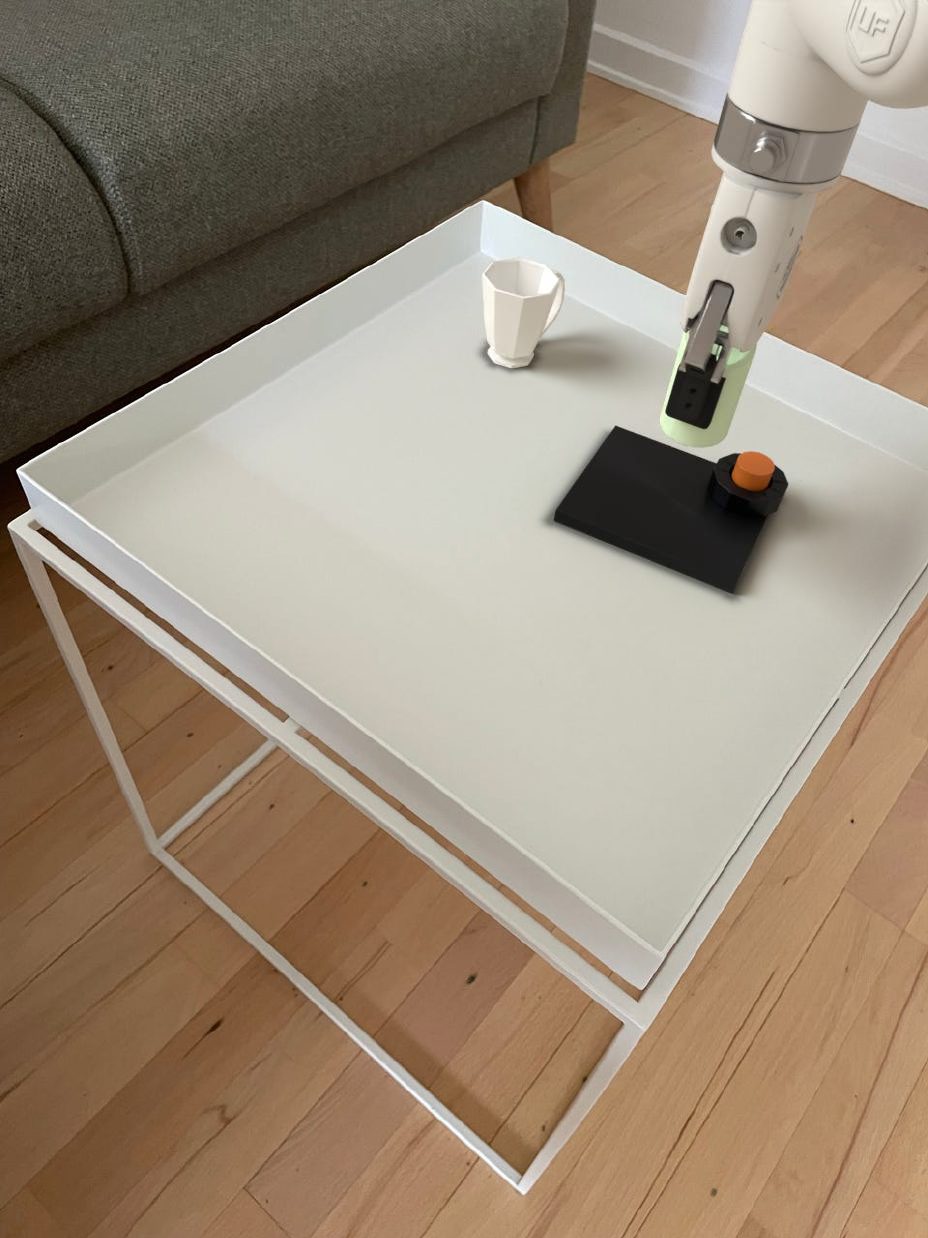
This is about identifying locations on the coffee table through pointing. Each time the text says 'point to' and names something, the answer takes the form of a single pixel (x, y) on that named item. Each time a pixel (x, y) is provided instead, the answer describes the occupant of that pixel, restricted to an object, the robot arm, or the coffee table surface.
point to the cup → (519, 308)
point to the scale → (670, 507)
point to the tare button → (753, 471)
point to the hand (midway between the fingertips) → (698, 400)
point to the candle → (726, 405)
